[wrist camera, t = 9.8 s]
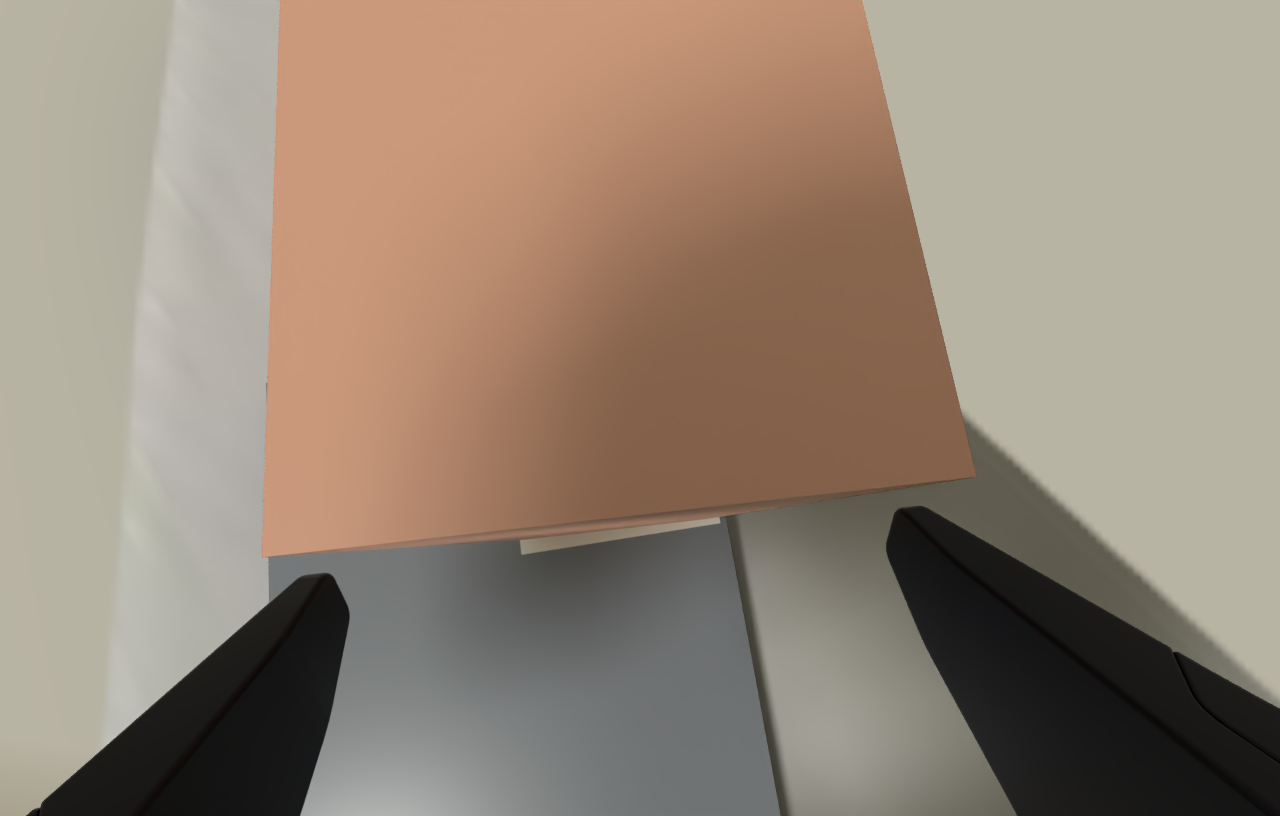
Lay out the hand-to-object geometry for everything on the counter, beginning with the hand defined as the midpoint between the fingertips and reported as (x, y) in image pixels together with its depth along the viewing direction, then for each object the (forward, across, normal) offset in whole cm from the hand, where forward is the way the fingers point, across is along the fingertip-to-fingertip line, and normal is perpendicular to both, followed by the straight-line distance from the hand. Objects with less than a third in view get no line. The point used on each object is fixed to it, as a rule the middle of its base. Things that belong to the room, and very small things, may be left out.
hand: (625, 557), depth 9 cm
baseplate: (+4, +3, +6) cm, 8 cm away
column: (+7, 0, +2) cm, 7 cm away
